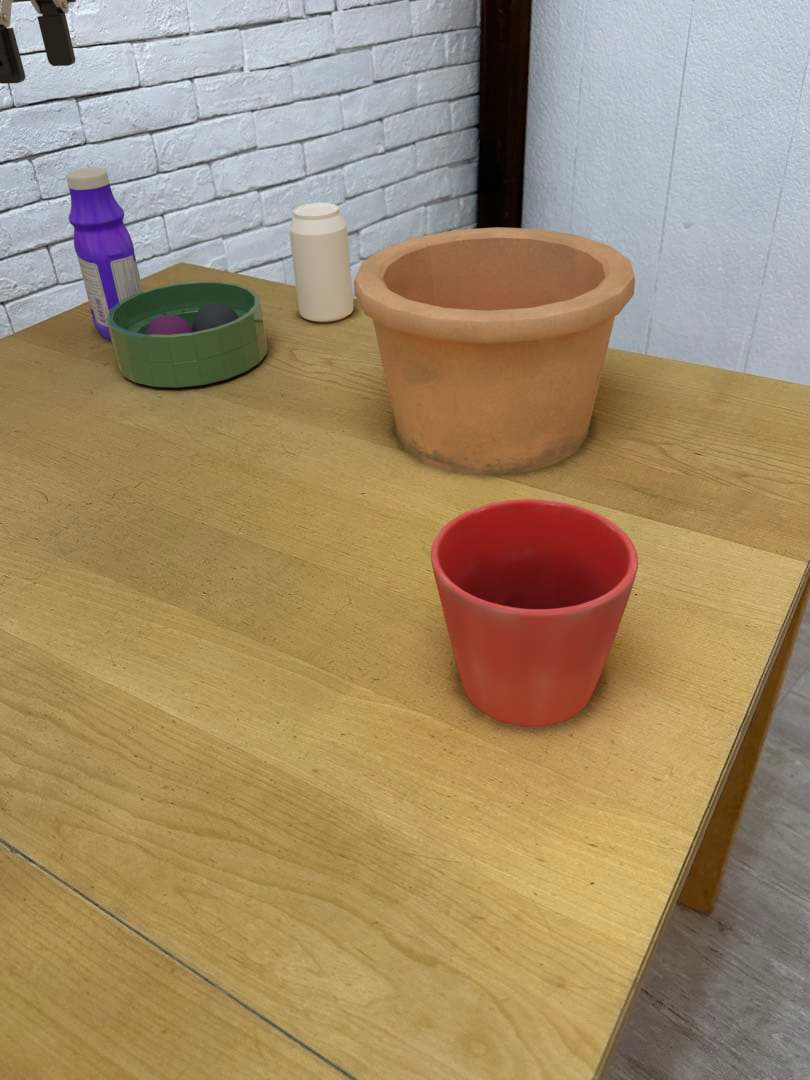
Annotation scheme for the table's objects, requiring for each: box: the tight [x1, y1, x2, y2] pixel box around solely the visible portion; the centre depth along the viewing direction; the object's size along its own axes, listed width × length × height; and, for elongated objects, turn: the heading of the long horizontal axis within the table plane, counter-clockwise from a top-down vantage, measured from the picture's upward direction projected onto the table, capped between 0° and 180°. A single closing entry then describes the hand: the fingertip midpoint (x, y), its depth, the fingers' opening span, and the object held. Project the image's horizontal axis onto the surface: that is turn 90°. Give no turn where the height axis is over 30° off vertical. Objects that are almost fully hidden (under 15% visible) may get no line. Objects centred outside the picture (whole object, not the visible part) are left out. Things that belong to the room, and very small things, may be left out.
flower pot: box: [430, 498, 639, 728], centre depth 51 cm, size 11×11×10 cm
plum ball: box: [145, 315, 194, 335], centre depth 91 cm, size 5×5×5 cm
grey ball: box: [192, 303, 239, 332], centre depth 93 cm, size 5×5×5 cm
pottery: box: [353, 226, 636, 477], centre depth 75 cm, size 22×22×14 cm
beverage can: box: [288, 202, 354, 323], centre depth 99 cm, size 6×6×12 cm
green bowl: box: [106, 280, 268, 389], centre depth 93 cm, size 15×15×6 cm
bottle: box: [65, 166, 144, 342], centre depth 97 cm, size 7×6×17 cm
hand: (38, 73), depth 74 cm, fingers open, 8 cm apart
